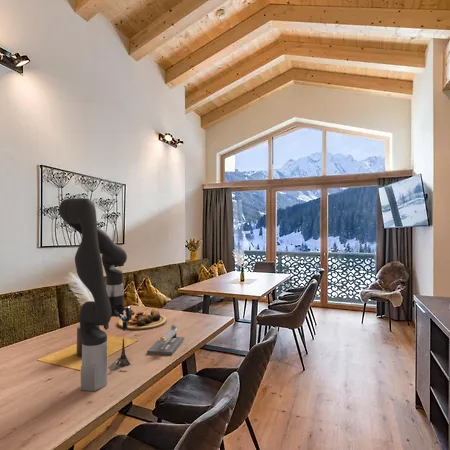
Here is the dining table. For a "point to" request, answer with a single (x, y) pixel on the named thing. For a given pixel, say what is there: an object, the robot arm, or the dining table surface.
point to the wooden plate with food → (144, 320)
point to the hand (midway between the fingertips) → (115, 329)
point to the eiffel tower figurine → (122, 361)
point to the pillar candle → (79, 342)
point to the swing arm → (168, 335)
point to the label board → (166, 347)
